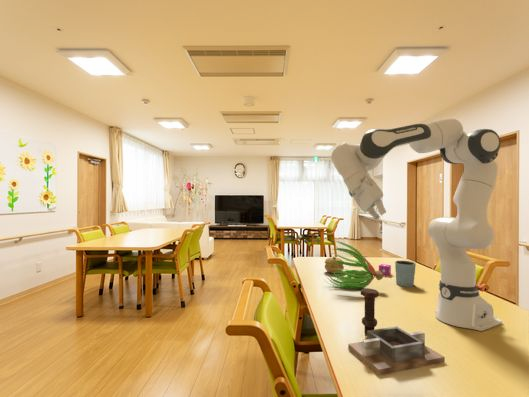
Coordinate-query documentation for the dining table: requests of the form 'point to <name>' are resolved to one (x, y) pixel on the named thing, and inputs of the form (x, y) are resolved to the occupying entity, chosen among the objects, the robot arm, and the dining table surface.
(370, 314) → the bolt
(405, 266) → the blue gray cup
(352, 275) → the decorative plant
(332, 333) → the dining table surface
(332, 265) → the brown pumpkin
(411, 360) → the square frame on board
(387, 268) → the puzzle toy
